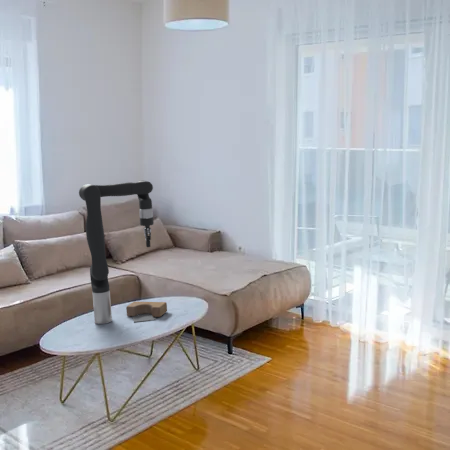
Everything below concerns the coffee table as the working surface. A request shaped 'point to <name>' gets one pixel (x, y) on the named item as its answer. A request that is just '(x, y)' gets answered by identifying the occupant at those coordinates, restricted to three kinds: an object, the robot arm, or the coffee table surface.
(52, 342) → the coffee table surface
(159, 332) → the coffee table surface
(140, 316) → the mat
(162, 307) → the decorative block
